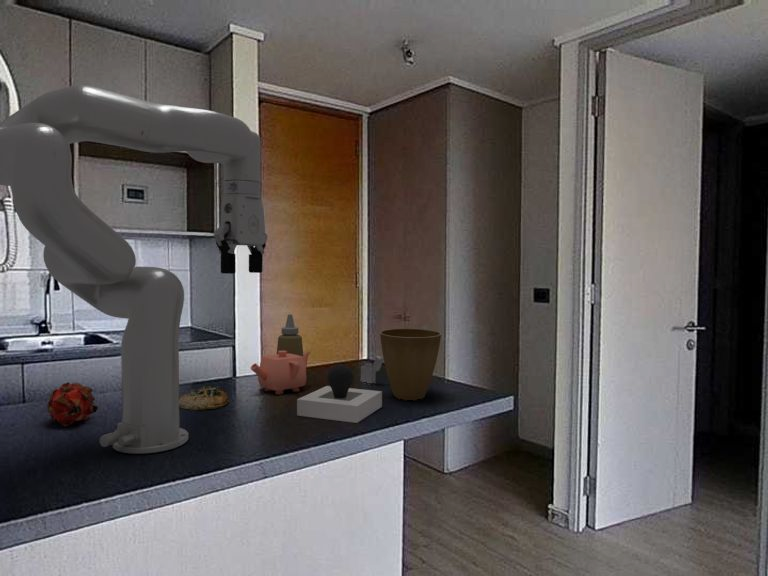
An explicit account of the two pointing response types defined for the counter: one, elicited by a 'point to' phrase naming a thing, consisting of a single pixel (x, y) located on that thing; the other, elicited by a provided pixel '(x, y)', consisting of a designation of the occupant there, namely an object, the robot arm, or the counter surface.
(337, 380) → the light bulb
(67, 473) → the counter surface
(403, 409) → the counter surface
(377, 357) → the lighter
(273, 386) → the teapot
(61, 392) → the dragon fruit
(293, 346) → the squeeze bottle
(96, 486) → the counter surface
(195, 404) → the bread roll
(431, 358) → the plant pot
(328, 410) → the socket block
